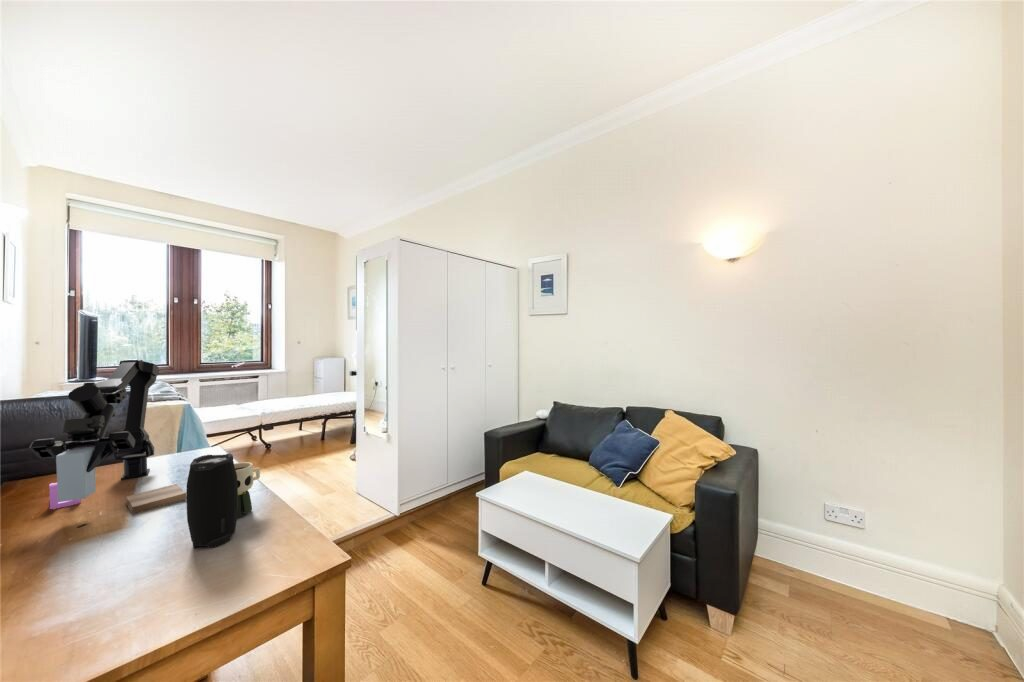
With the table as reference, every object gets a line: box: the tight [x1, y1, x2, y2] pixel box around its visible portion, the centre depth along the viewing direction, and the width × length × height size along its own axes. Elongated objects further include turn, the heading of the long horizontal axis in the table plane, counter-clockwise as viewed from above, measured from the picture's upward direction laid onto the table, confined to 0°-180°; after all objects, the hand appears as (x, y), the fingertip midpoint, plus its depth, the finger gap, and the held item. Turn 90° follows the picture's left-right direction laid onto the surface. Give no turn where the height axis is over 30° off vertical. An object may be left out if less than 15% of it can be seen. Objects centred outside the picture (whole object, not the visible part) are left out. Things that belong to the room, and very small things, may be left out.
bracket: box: [48, 482, 82, 510], centre depth 109 cm, size 13×6×7 cm, turn 50°
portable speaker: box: [185, 453, 238, 549], centre depth 87 cm, size 9×9×20 cm
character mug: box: [234, 461, 261, 518], centre depth 100 cm, size 11×7×13 cm, turn 146°
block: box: [55, 447, 97, 502], centre depth 98 cm, size 5×5×12 cm
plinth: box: [125, 483, 186, 515], centre depth 108 cm, size 11×11×2 cm
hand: (73, 473), depth 97 cm, fingers closed on block, 5 cm apart
